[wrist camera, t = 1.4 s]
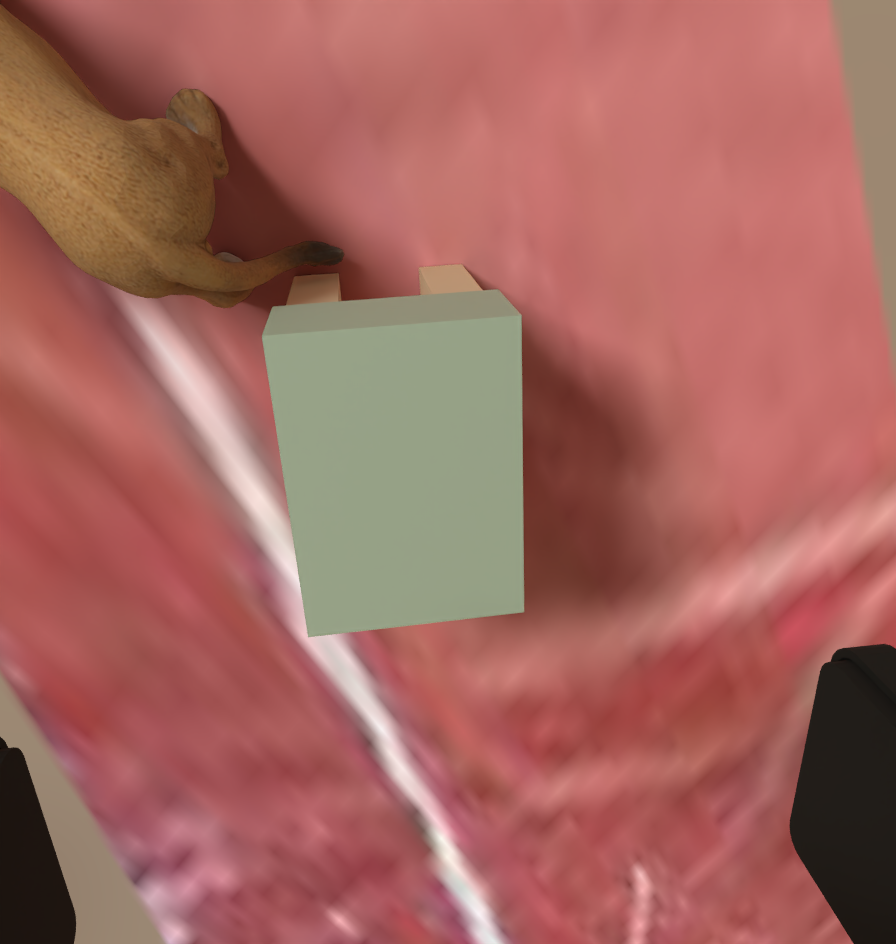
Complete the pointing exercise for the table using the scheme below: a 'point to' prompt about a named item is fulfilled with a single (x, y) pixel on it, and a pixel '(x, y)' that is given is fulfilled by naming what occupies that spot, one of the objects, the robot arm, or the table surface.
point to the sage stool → (401, 450)
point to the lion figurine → (123, 181)
